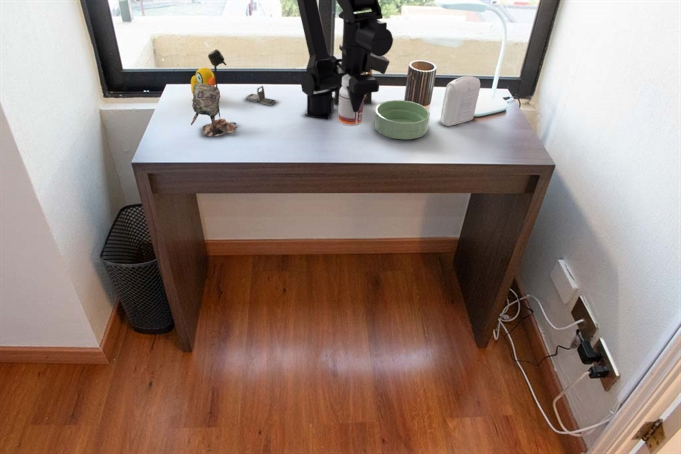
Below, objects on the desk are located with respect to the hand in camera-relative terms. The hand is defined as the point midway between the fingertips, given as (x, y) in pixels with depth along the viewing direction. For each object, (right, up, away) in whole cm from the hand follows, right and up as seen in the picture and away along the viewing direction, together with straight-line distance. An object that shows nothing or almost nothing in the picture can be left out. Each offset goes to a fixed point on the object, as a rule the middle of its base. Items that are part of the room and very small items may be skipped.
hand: (351, 106), depth 125 cm
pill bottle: (0, -3, +3) cm, 4 cm away
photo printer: (+29, -1, +14) cm, 33 cm away
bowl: (+13, -4, +9) cm, 16 cm away
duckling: (-40, +5, +17) cm, 44 cm away
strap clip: (-25, +6, +19) cm, 32 cm away
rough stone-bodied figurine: (-35, -5, +4) cm, 35 cm away
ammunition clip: (+1, +6, +21) cm, 22 cm away
